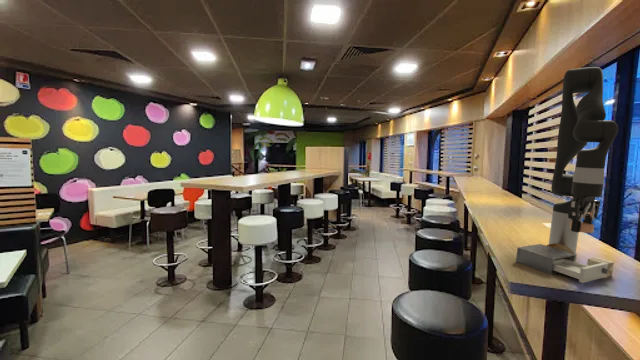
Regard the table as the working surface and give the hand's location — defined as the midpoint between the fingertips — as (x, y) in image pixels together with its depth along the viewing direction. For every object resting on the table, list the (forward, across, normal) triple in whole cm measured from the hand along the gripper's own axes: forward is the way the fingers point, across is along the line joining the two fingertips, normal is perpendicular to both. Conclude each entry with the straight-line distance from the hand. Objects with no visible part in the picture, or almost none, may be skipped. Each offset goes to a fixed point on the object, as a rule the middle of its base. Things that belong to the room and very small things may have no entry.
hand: (580, 230), depth 98 cm
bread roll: (+16, +13, +13) cm, 24 cm away
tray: (+15, 0, 0) cm, 15 cm away
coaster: (0, 0, 0) cm, 0 cm away
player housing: (+16, 0, +10) cm, 18 cm away
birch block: (+16, +11, -2) cm, 19 cm away
